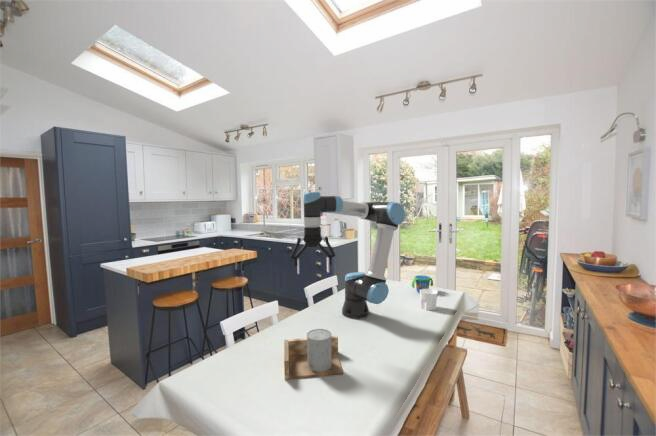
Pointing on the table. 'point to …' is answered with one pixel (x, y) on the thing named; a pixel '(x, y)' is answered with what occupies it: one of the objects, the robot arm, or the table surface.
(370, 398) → the table surface
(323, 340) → the beer can
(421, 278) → the snack cup
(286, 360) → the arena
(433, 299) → the cup
